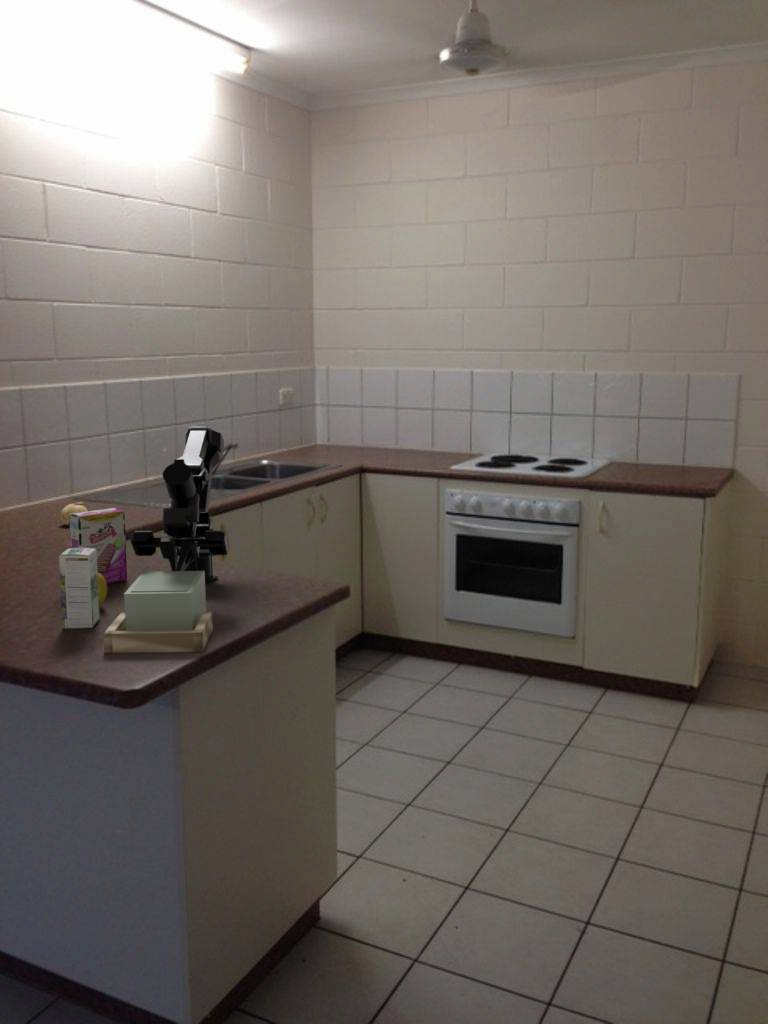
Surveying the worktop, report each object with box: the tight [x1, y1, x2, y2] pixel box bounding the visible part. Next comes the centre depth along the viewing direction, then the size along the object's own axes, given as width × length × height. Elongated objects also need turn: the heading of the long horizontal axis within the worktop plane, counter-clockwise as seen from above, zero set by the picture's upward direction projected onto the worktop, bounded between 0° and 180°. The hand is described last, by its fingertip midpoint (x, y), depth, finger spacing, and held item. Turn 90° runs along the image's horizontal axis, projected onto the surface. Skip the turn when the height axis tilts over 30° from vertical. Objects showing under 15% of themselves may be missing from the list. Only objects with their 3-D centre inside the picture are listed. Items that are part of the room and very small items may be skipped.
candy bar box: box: [69, 507, 128, 585], centre depth 205 cm, size 11×5×16 cm, turn 134°
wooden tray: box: [102, 611, 214, 654], centre depth 167 cm, size 12×17×4 cm
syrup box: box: [58, 547, 100, 630], centre depth 175 cm, size 6×6×14 cm
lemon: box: [98, 573, 108, 605], centre depth 187 cm, size 6×6×8 cm
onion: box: [59, 500, 89, 527], centre depth 270 cm, size 8×8×7 cm
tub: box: [123, 570, 207, 631], centre depth 174 cm, size 16×12×9 cm
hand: (175, 579), depth 182 cm, fingers closed
